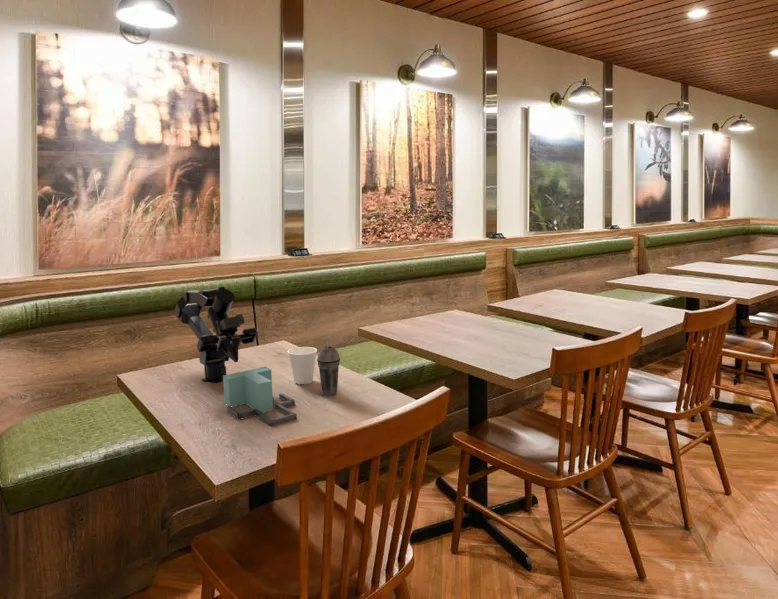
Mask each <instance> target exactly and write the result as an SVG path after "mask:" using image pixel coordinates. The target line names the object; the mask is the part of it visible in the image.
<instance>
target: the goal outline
mask: <svg viewBox="0 0 778 599" xmlns="http://www.w3.org/2000/svg"><path fill="white" fill-rule="evenodd" d="M278 399H279V400H281V401H282V402H277V403H274V406H275V407H274V408H275V410H277V411H278V410H279V411H278V412H280V413H281V414H283V415H282V416H279V417H275V418H272V417H270V416H269V415H267V414H265V412H264V413H262V412H261V411H259V410H258V409H253V408H252V409H251V410H246V411H242V412H240V411H238V410H237V409H235V408H234V407H231V406H226V412H227V411H228V412H229V414H230V413H231V414H232V415H231V414H230V415H231V416H233V415H234V416H235V417H236V419H237V418H238V419H240V420H242V419H241V418H244V419H246V418H245V417H247V418H250V416H251V417H254V415H256V416H255V417H257V418H258V417H259V418H258V419H259V420H261V421H263V422H264V423H265V424H267V425H269V427H274V426H277V425H280V424H284V423H288V422H292V421H295V420H297V417H298V416H297V415H298V414H297V413H296V412H294V411H292V410H290V408H289V407H292V405H293V406H295V405H296V402H295V401H296V400H295V399H293V398H292V397H289V396H288V395H286V394H285V393H281V392H280V393H278ZM284 401H285V402H284ZM288 406H289V407H288ZM228 412H227V413H228ZM234 416H233V417H234ZM235 417H234V418H235ZM238 419H237V420H238ZM294 419H295V420H294Z"/></svg>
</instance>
